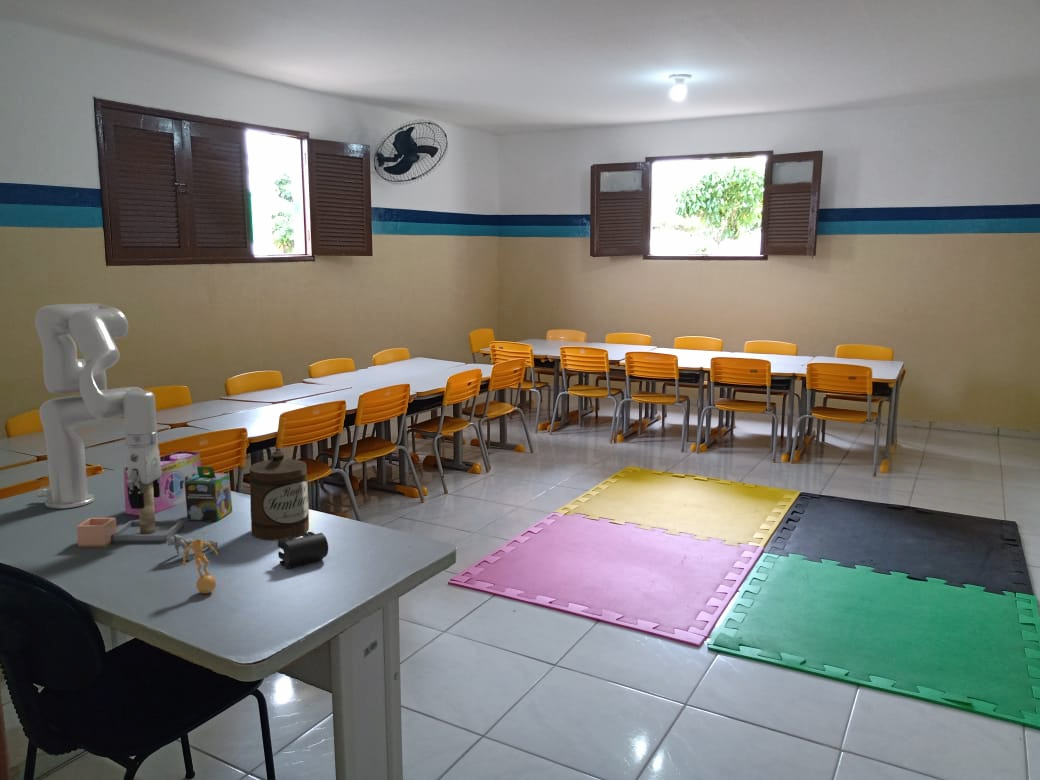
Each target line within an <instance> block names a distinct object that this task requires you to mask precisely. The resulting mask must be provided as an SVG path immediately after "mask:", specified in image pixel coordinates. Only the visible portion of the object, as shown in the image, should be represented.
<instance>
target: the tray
mask: <svg viewBox="0 0 1040 780" xmlns="http://www.w3.org/2000/svg"><path fill="white" fill-rule="evenodd" d="M184 527H185V525H184V520H183V519H180V520H179V519H177V520H176V519H174V520H173V519H172V520H171V519H170V520H168V519H165V520H164V519H163V520H161V519H160V520H159V519H155V532H154V533H151V534H141V533H140V519H139V520H138V519H137V520H135V519H133V520H128V522H126V524H124V525H122V526H121V527H119V528H118V529H117V532H115V533H114V534H113V535H111V543H110V544H112V543H113V544H115V543H117V544H118V543H168V538H169V537H171V536H173V535H176V534H177V533H178V532H179V531H181V529H183V528H184Z"/></svg>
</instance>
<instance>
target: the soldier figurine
mask: <svg viewBox="0 0 1040 780" xmlns="http://www.w3.org/2000/svg"><path fill="white" fill-rule="evenodd" d="M193 540H194V539H193V538H191V537H188V538H185V537H184V536H181V535H179V534H177V533H176V534H175V535H173V536H171V537H169V538H168V541H167V546H168V547H171V546H174V549H175V550H176V554H177V555H178V556H180V551H179V550H180V549H179V548H182V549H184V550H185V549H186V548H188V547H189V545H190V544H191V542H192V541H193ZM201 541H203V542H207V543H210V544H211V546H212V547H213V548H214V549H215V550H216V551H217V550H218V544H219V543H218V542H217V541H214V540H212V539H211V540H208V539H207V540H205V539H203V540H202V539H201ZM204 549H207V550H212V549H211V548H210V547H209V545H203V549H202V550H204ZM212 551H213V553H214V552H215V551H214V550H212ZM215 553H216V552H215ZM186 559H187V560H188V561H192V560H193V558H192V557H190V550H189V551H187V552H186Z"/></svg>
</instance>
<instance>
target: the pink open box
mask: <svg viewBox="0 0 1040 780" xmlns="http://www.w3.org/2000/svg"><path fill="white" fill-rule="evenodd" d="M117 530H118V529H117V518H116V517H88V519H85V520H84V521H83V522H81V523H80V524H78V525H77V526H76V535H77V547H78V548H106V547H108V546H109V545H110V544H112V543H111V535H113V534H114V533H115V532H117Z"/></svg>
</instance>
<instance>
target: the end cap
mask: <svg viewBox="0 0 1040 780" xmlns="http://www.w3.org/2000/svg"><path fill="white" fill-rule="evenodd" d="M300 536H301V537H299V538H298V537H297V538H291V537H286V538H282V539H279V540H277V547H278V548H280V549H282V551H283V552H282V551H278V553H277V555H278V558H279V559H280V561H279V565H280V566H282V567H283V568H285V569H291V568H292V569H293V568H295V567H299V566H302V565H304V566H305V565H306V564H311V563H315V562H318V561H321V560H323V559H325V558H326V557H327V555H328V553H329V543H328V539H327V536H326V535H325V534H324V533H323V532H318V533H314V532H312V531H307V532H306V533H303V534H301V535H300Z"/></svg>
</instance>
